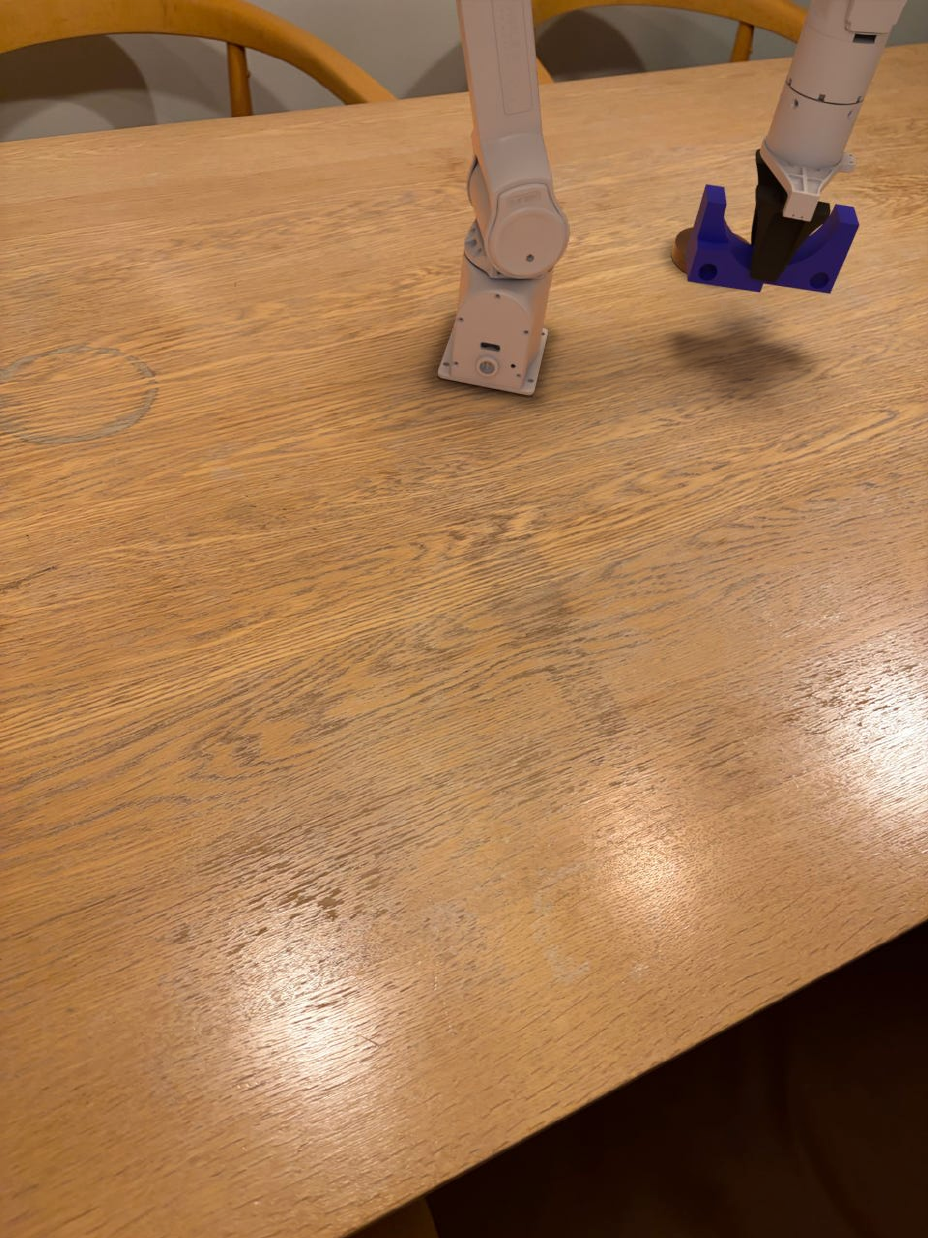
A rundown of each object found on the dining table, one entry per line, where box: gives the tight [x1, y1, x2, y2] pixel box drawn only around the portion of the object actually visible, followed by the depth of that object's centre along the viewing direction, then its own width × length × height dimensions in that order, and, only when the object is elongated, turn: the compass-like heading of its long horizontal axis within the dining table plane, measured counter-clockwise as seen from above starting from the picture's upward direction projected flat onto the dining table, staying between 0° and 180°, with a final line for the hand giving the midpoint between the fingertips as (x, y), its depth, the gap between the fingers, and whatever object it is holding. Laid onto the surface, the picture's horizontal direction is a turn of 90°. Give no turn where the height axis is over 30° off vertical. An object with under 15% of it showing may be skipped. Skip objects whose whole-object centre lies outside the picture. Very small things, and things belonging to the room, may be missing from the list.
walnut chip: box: [670, 226, 751, 274], centre depth 97 cm, size 8×8×2 cm
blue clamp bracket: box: [686, 183, 860, 295], centre depth 80 cm, size 12×4×6 cm, turn 84°
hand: (762, 262), depth 81 cm, fingers closed on blue clamp bracket, 5 cm apart
